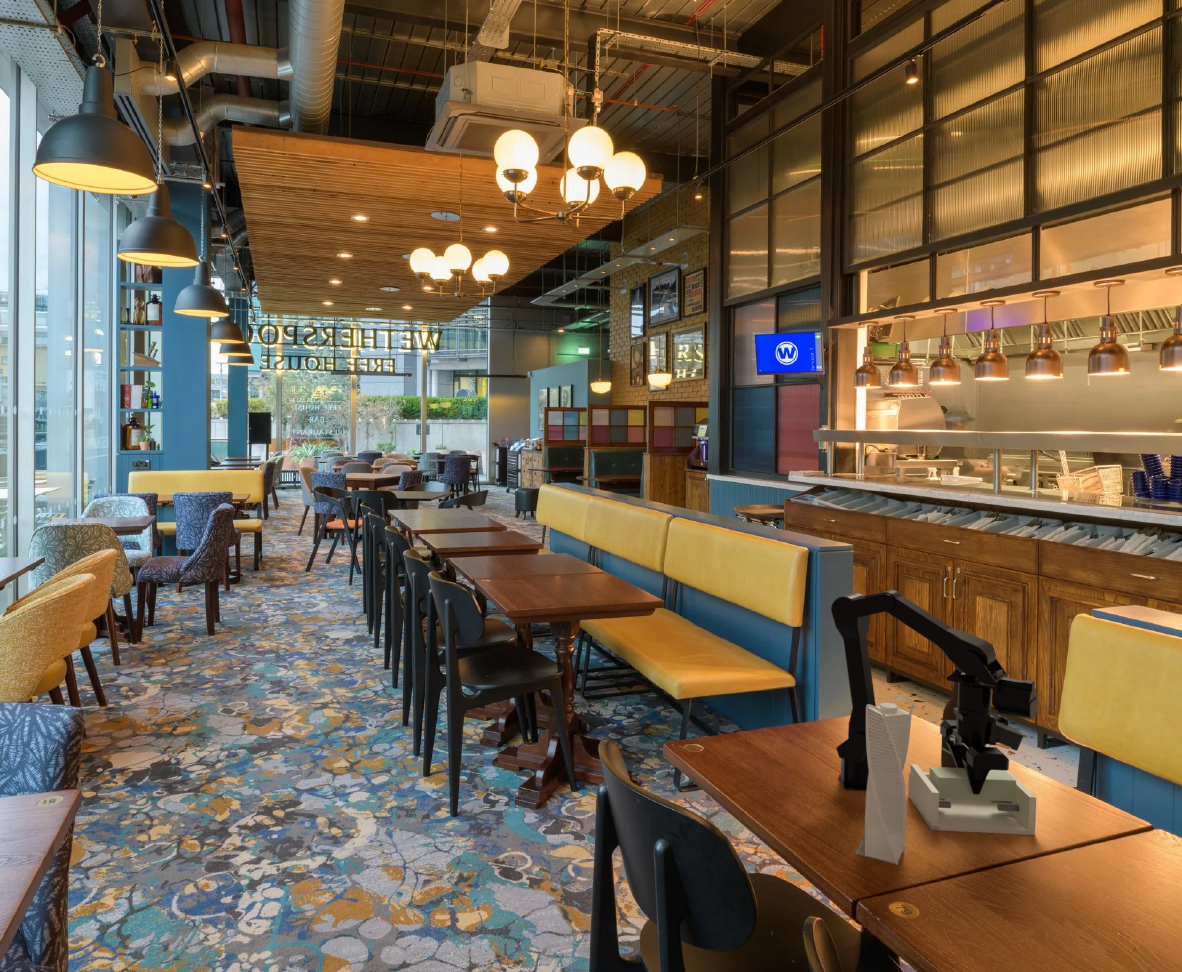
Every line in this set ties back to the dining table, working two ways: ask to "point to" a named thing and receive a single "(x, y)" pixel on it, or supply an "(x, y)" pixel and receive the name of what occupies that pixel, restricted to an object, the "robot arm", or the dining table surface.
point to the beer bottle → (945, 752)
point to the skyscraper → (886, 782)
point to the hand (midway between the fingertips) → (970, 788)
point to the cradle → (972, 809)
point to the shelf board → (958, 787)
